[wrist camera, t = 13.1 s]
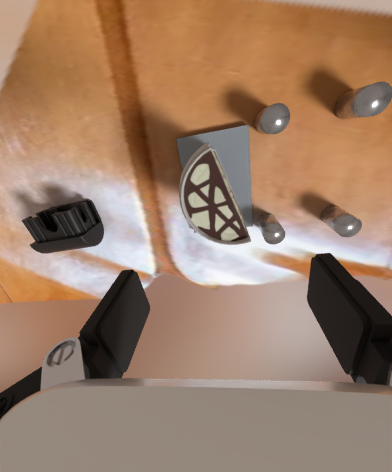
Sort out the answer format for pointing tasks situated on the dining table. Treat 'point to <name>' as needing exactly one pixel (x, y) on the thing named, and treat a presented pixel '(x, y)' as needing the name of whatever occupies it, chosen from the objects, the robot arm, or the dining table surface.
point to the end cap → (65, 227)
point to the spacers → (347, 106)
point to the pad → (226, 161)
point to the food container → (211, 199)
